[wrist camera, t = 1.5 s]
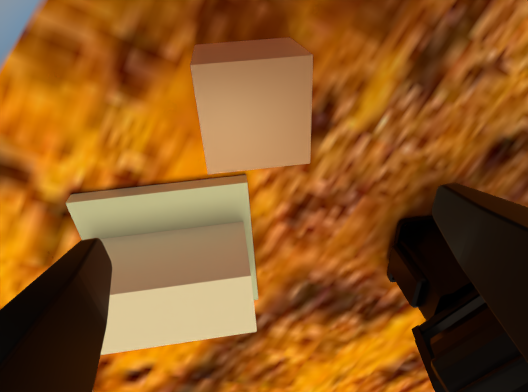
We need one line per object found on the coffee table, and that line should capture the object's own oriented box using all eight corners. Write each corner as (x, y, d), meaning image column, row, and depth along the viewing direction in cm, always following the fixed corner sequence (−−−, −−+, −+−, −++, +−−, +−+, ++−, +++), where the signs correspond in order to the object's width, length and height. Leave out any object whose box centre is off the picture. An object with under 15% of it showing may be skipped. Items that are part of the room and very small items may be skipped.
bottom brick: (243, 221, 23) (250, 275, 19) (249, 273, 26) (256, 331, 21) (90, 240, 22) (62, 301, 18) (113, 292, 25) (93, 355, 21)
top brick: (289, 37, 18) (312, 55, 14) (290, 125, 21) (310, 163, 17) (195, 44, 18) (190, 65, 13) (208, 133, 20) (208, 174, 16)
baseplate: (245, 174, 22) (247, 182, 21) (256, 289, 28) (258, 299, 27) (71, 194, 21) (65, 203, 20) (121, 308, 27) (118, 319, 26)
